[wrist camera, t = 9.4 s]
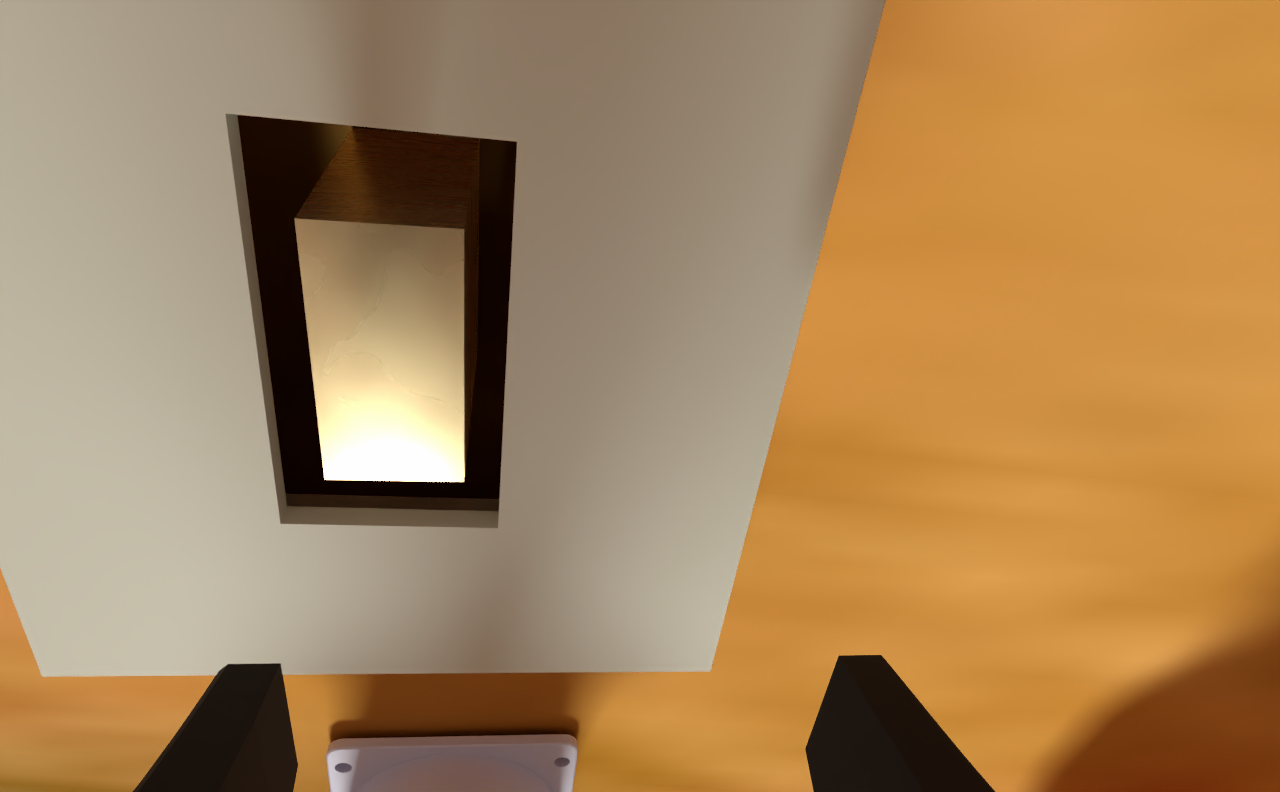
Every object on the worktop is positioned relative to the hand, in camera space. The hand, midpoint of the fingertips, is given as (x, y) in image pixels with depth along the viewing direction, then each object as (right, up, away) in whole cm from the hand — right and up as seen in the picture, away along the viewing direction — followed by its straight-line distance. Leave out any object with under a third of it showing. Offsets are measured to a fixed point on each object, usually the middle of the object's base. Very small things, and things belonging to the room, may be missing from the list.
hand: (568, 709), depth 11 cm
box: (-4, +8, +7) cm, 11 cm away
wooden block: (-4, +7, +7) cm, 11 cm away
